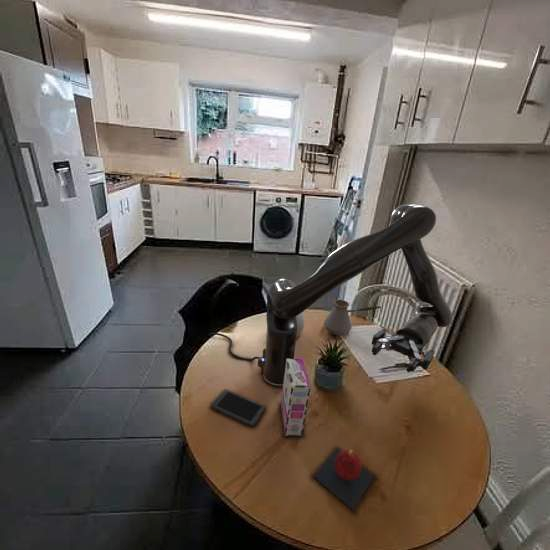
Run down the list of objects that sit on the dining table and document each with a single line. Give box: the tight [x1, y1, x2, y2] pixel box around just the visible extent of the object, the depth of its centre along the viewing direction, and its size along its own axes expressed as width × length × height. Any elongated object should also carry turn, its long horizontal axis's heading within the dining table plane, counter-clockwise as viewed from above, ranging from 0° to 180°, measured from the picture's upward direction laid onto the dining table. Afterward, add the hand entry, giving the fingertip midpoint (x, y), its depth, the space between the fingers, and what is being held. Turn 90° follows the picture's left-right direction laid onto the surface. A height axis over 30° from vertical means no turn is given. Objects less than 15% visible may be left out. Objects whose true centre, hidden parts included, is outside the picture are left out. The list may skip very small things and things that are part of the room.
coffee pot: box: [323, 299, 382, 336], centre depth 126 cm, size 21×12×15 cm, turn 71°
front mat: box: [313, 448, 375, 511], centre depth 71 cm, size 10×10×1 cm
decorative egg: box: [296, 311, 306, 337], centre depth 122 cm, size 12×12×15 cm
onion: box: [335, 449, 362, 481], centre depth 70 cm, size 6×6×8 cm
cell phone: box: [210, 389, 266, 427], centre depth 87 cm, size 7×14×1 cm, turn 64°
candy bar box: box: [280, 358, 312, 437], centre depth 82 cm, size 11×5×16 cm, turn 5°
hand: (390, 360), depth 74 cm, fingers open, 8 cm apart
